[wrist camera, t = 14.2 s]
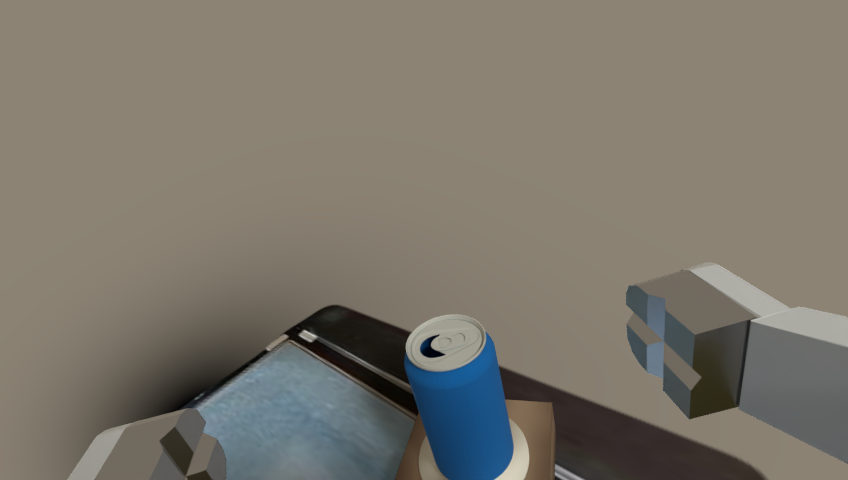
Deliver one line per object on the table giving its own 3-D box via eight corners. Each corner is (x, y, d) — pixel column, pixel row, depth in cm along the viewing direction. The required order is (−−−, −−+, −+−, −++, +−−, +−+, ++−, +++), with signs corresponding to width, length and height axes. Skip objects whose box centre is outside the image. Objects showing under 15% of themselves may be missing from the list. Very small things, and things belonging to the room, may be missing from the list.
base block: (394, 548, 34) (379, 515, 32) (433, 422, 44) (424, 391, 42) (551, 582, 30) (545, 546, 28) (555, 433, 40) (551, 399, 38)
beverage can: (430, 432, 38) (396, 324, 32) (500, 411, 38) (478, 301, 33) (443, 503, 32) (404, 386, 27) (527, 478, 32) (504, 358, 27)
